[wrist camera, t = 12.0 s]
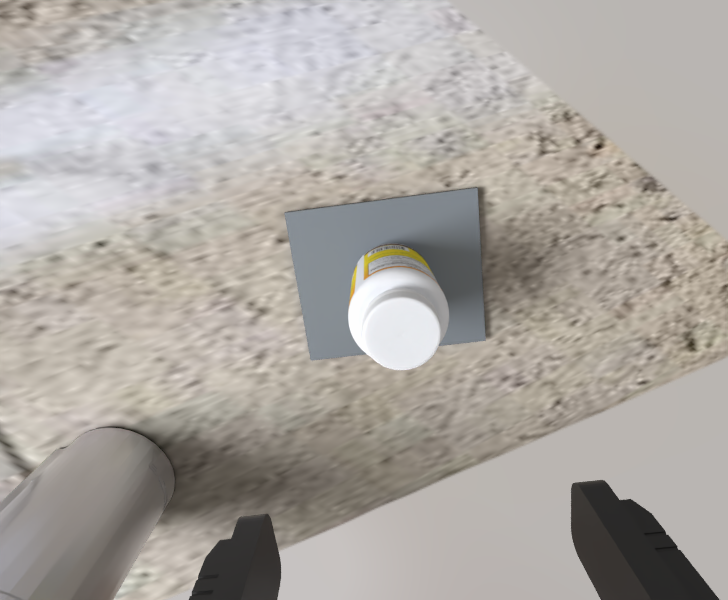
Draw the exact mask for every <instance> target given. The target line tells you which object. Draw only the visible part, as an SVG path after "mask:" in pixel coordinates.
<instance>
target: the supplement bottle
mask: <svg viewBox="0 0 728 600" xmlns="http://www.w3.org/2000/svg"><path fill="white" fill-rule="evenodd" d="M348 321H349V328H350V331H351V334H352V336H353V338H354V340H355V342H356V343H357V345H358V346H359V347H360V348H361V349H362V350H363V351H364V352H365V353H366V354H367V355H369V356H370V357H372V358H373V359H374V360H375V361H376V362H377V363H379V364H380V365H382V366H384V367H386V368H390V369H394V370H409V369H413V368H416V367H418V366H421V365H422V364H424V363H425V362H427V361H428V360H429V359H430V358H431V357H432V356H433V355H434V353H435V352H436V350H437V349H438V346H439V344H440V343H441V341H442V340H443V338H444V336H445V334H446V331H447V328H448V323H449V308H448V303H447V300H446V297H445V295H444V293H443V291H442V289H441V288H440V286H439V284H438V282H437V280H436V279H435V277H434V275H433V273H432V271H431V270H430V268H429V266H428V264H427V262H426V261H425V259H424V258H423V257H422V256H421V255H420V254H419V253H418V252H417V251H415V250H414V249H412V248H410V247H408V246H406V245H402V244H397V243H388V244H382V245H379V246H376V247H374V248H372V249H370V250H369V251H368V252H366V253H365V254H364V255H363V256H362V257H361V258H360V260H359V261H358V263H357V264H356V266H355V269H354V272H353V276H352V284H351V293H350V301H349V310H348Z"/></svg>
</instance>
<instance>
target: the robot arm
mask: <svg viewBox="0 0 728 600" xmlns="http://www.w3.org/2000/svg"><path fill="white" fill-rule="evenodd" d="M174 486H175V477H174V471H173V468H172V466H171V464H170V461H169V460H168V458H167V457H166V455H165V454H164V453H163V451H162V450H161V449H160V448H159V447H158V446H157V445H155V444H154V443H153V442H152V441H150V440H149V439H147V438H146V437H144V436H142V435H140V434H137V433H135V432H133V431H129V430H125V429H121V428H100V429H94V430H91V431H88V432H86V433H84V434H82V435H81V436H79V437H77V438H76V439H75V440H74V441H73V442H72V443H71V444H70V445H69V446H68V447H67V448H64V449H57V450H55V451H54V452H53V453H52V454H51V455H50V456H49V457H47V458H46V459H45V460H44V461H43V462H42V463H41V464H40V465H39V466H38V467H37V468H36V469H35V470H34V471H33V472H32V473H31V474H30V475H29V476H28V477H27V478H25V479H24V480H23V481H22V482H21V483H20V484H19V485H18V486H17V487H16V488H15V489H14V490H13V491H12V492H11V493H10V494H9V495H8V496H7V497H6V498H5V499H4V500H2V501H1V502H0V600H113V599H114V598H115V596H116V594H117V592H118V590H119V589H120V587H121V585H122V583H123V582H124V580H125V578H126V576H127V575H128V573H129V571H130V569H131V568H132V566H133V564H134V562H135V561H136V559H137V557H138V555H139V554H140V552H141V550H142V548H143V547H144V545H145V543H146V541H147V540H148V538H149V536H150V534H151V533H152V531H153V529H154V527H155V526H156V524H157V522H158V520H159V519H160V517H161V515H162V513H163V512H164V510H165V508H166V506H167V505H168V503H169V501H170V499H171V497H172V494H173V492H174ZM571 532H572V539H573V543H574V546H575V549H576V552H577V554H578V557H579V559H580V561H581V562H582V564H583V566H584V568H585V570H586V572H587V574H588V576H589V578H590V580H591V582H592V583H593V585H594V587H595V589H596V591H597V593H598V595H599V597H600V599H601V600H719V599H718V597H717V596H716V595H715V594H714V592H713V591H712V590H711V589H710V587H709V586H708V585H707V583H706V582H705V581H704V580H703V578H702V577H701V576H700V574H699V573H698V572H697V571H696V569H695V568H694V567H693V566H692V564H691V563H690V562H689V561H688V559H687V558H686V557H685V556H684V554H683V553H682V552H681V550H678V548H677V545H676V544H675V543H674V542H673V540H672V539H671V538H670V537H669V535H666V532H665V530H664V529H663V528H662V526H661V525H660V524H659V523H658V521H657V520H656V519H655V518H654V516H653V515H652V514H651V513H650V512H648V511H647V510H646V509H644V508H643V507H641V506H640V505H638V504H637V503H636V502H634V501H633V500H631V499H628V500H619V499H618V497H617V496H616V495H615V493H614V492H613V491H612V489H611V488H610V486H609V485H608V484H607V483H606V482H605V481H603V480H597V481H587V482H578V483H573V484H572V488H571ZM280 580H281V562H280V557H279V552H278V547H277V543H276V539H275V535H274V531H273V526H272V522H271V518H270V516H269V515H268V514H262V515H253V516H243V517H240V518H239V519H238V521H237V524H236V527H235V530H234V532H233V535H232V538H231V539H226V540H220V541H219V542H218V543H217V544H216V546H215V547H214V548H213V549H212V550H211V552H210V553H209V554H208V555H207V556H206V558H205V560H204V563H203V565H202V568H201V571H200V573H199V576H198V580H197V581H196V583H195V586H194V588H193V591H192V596H190V598H189V600H277V597H278V592H279V587H280Z"/></svg>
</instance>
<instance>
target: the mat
mask: <svg viewBox="0 0 728 600" xmlns="http://www.w3.org/2000/svg"><path fill="white" fill-rule="evenodd" d="M285 219H286V225H287V230H288V236H289V241H290V247H291V253H292V258H293V264H294V269H295V275H296V280H297V286H298V292H299V297H300V303H301V308H302V314H303V319H304V325H305V331H306V336H307V342H308V347H309V353H310V359H311V360H320V359H328V358H337V357H346V356H355V355H363V354H366V353H365V352H364V351H363V350H362V349H361V348H360V347H359V346H358V345H357V343H356V342H355V340H354V338H353V336H352V334H351V331H350V328H349V321H348V310H349V301H350V293H351V284H352V276H353V272H354V269H355V266H356V264H357V263H358V261H359V260H360V258H361V257H362V256H363V255H364V254H365V253H366V252H368V251H369V250H370V249H372V248H374V247H376V246H379V245H382V244H388V243H397V244H402V245H406V246H408V247H410V248H412V249H414V250H415V251H417V252H418V253H419V254H420V255H421V256H422V257H423V258H424V259H425V261H426V262H427V264H428V266H429V268H430V270H431V271H432V273H433V275H434V277H435V279H436V280H437V282H438V284H439V286H440V288H441V289H442V291H443V293H444V295H445V297H446V300H447V303H448V308H449V323H448V328H447V331H446V334H445V336H444V338H443V340H442V341H441V343H440V344H439V346H443V345H451V344H460V343H469V342H478V341H486V338H485V319H484V300H483V281H482V262H481V243H480V224H479V205H478V188H476V187H475V188H468V189H460V190H452V191H445V192H437V193H429V194H422V195H414V196H406V197H398V198H391V199H383V200H375V201H368V202H360V203H352V204H345V205H337V206H329V207H321V208H314V209H306V210H298V211H291V212H285Z"/></svg>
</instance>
